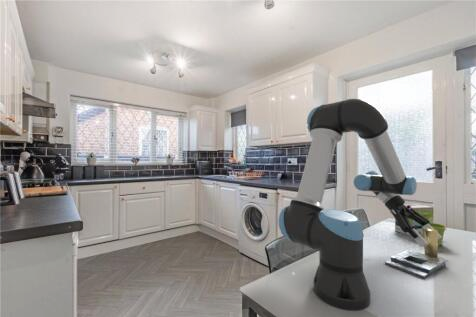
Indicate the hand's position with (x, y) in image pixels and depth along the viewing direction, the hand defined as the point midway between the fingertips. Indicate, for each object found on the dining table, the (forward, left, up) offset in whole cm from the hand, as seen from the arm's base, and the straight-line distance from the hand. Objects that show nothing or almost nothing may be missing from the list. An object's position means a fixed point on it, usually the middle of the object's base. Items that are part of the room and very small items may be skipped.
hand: (432, 242), depth 91 cm
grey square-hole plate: (-17, 0, -6) cm, 18 cm away
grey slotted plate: (-13, 0, -6) cm, 14 cm away
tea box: (+30, +18, -6) cm, 36 cm away
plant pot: (+19, +6, -6) cm, 21 cm away
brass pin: (-1, 0, -6) cm, 6 cm away
